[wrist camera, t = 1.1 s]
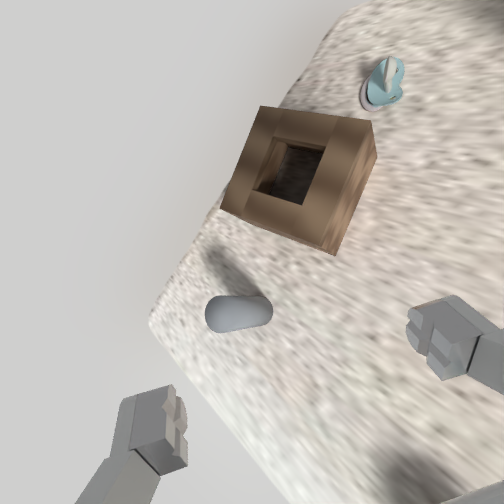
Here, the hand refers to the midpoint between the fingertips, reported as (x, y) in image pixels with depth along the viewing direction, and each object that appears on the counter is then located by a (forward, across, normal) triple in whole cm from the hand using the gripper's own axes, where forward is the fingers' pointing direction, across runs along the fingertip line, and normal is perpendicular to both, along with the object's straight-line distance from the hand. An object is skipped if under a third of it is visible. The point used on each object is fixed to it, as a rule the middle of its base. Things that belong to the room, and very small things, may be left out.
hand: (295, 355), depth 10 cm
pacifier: (+40, -28, 0) cm, 48 cm away
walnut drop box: (+36, -13, +11) cm, 40 cm away
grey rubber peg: (+29, 0, +26) cm, 39 cm away
